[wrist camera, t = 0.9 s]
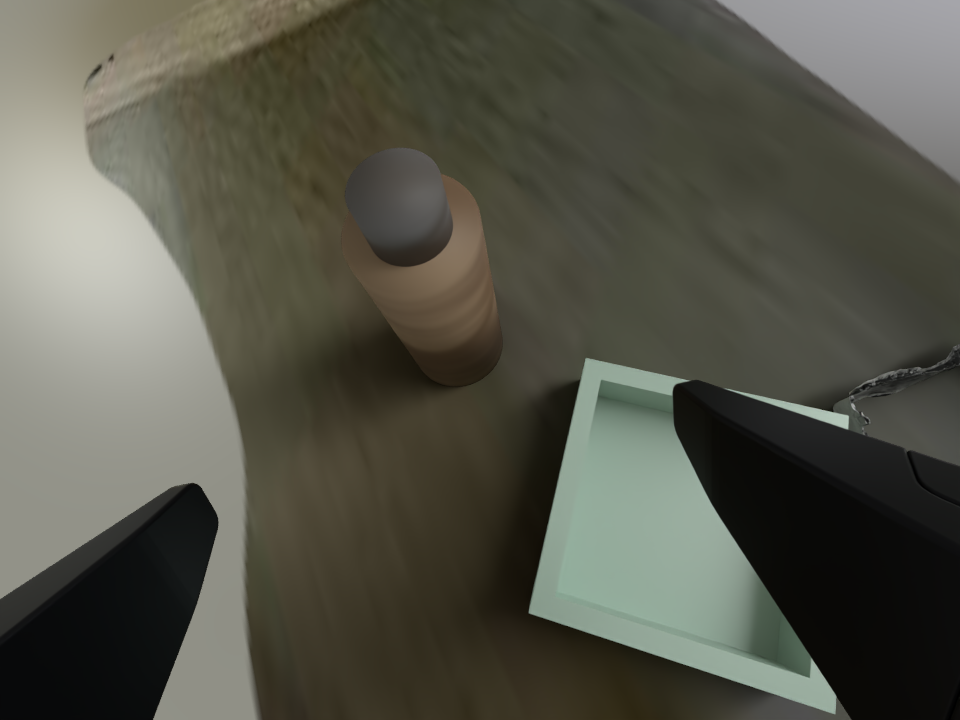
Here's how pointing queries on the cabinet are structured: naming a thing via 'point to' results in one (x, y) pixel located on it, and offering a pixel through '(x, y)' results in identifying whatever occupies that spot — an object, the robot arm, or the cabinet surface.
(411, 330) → the pepper mill
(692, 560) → the tray
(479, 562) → the cabinet surface
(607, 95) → the cabinet surface
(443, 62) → the cabinet surface
